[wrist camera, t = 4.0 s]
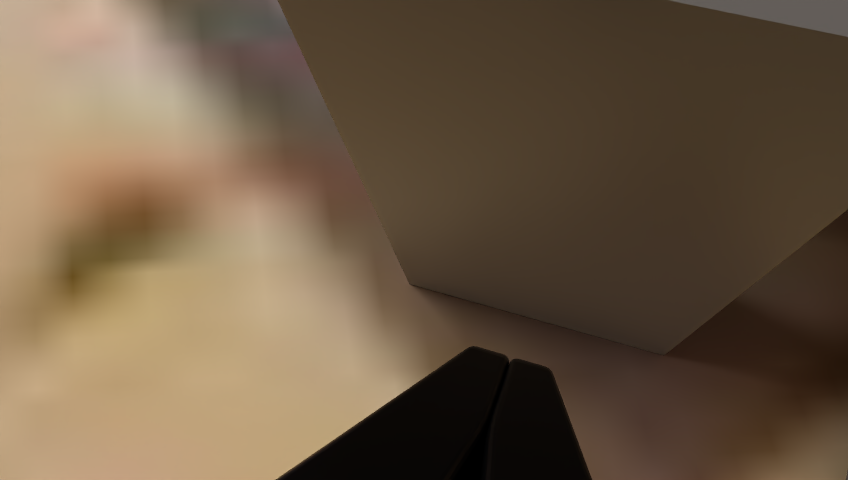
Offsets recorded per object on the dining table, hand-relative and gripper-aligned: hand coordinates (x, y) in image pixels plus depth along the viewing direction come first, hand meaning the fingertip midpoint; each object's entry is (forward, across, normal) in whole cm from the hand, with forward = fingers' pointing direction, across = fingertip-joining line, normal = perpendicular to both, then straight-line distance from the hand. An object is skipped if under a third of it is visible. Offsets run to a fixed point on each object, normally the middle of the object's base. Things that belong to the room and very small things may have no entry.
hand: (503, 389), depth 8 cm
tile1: (+9, 0, +4) cm, 9 cm away
